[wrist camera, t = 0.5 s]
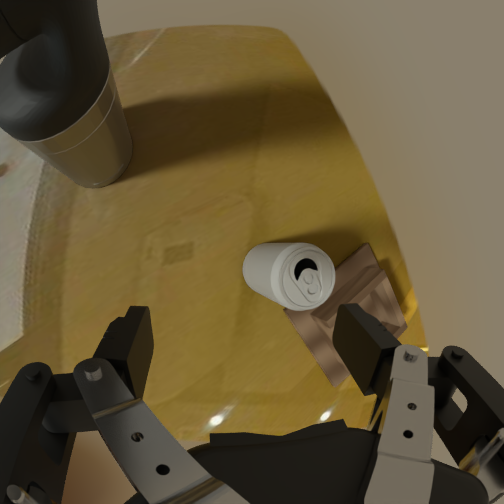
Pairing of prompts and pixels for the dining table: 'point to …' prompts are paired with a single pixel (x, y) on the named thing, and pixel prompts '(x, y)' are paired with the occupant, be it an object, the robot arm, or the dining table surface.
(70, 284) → the dining table surface
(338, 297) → the well
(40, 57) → the robot arm
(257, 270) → the beverage can
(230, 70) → the dining table surface
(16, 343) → the dining table surface
